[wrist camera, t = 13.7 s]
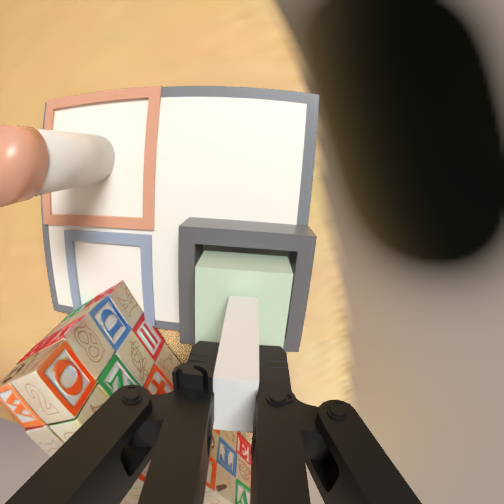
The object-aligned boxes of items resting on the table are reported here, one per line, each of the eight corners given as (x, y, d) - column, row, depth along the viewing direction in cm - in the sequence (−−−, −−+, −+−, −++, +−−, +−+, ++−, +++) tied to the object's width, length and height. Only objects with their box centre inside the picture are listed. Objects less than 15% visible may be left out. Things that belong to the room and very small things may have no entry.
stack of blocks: (253, 444, 27) (254, 544, 15) (203, 456, 28) (191, 548, 16) (123, 276, 22) (31, 371, 10) (73, 306, 23) (-12, 391, 11)
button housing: (189, 217, 20) (178, 226, 17) (307, 225, 20) (316, 236, 17) (188, 321, 22) (180, 343, 20) (293, 329, 23) (298, 351, 20)
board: (49, 103, 18) (42, 101, 17) (317, 96, 18) (320, 93, 17) (57, 307, 23) (51, 312, 22) (291, 335, 23) (292, 342, 23)
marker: (74, 135, 18) (-23, 131, 9) (117, 132, 18) (24, 119, 9) (73, 185, 20) (-23, 208, 10) (115, 185, 20) (22, 207, 10)
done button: (204, 250, 18) (195, 266, 15) (287, 256, 18) (293, 274, 15) (203, 322, 20) (195, 348, 17) (278, 328, 20) (282, 354, 17)
